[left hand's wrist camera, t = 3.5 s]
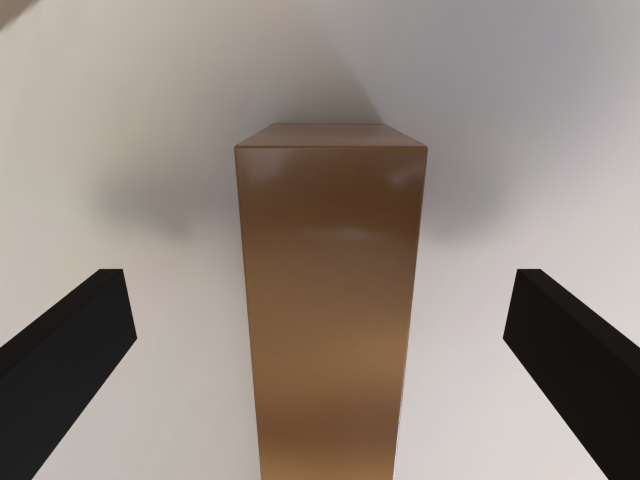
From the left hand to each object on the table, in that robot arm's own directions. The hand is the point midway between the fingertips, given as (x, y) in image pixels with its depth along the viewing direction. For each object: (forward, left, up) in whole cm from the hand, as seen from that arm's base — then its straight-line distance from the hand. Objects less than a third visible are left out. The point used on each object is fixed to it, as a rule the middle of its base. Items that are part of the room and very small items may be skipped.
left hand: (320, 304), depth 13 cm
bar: (+19, +14, -8) cm, 24 cm away
